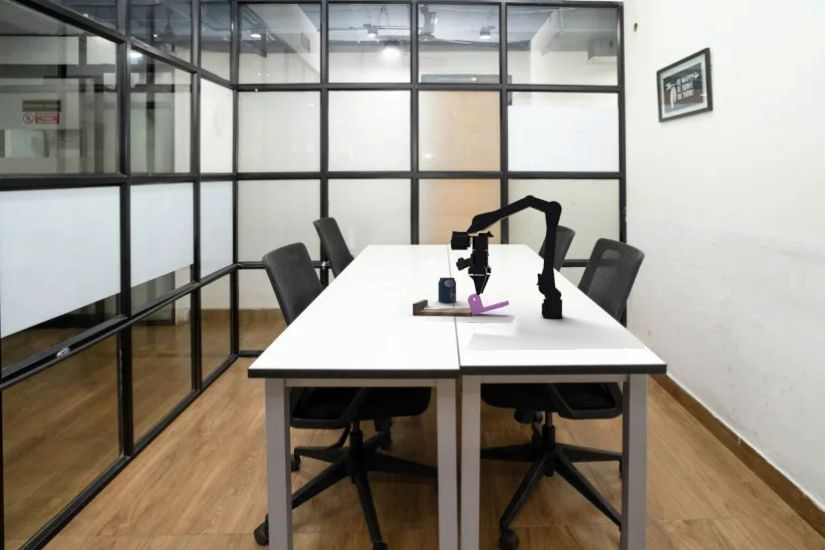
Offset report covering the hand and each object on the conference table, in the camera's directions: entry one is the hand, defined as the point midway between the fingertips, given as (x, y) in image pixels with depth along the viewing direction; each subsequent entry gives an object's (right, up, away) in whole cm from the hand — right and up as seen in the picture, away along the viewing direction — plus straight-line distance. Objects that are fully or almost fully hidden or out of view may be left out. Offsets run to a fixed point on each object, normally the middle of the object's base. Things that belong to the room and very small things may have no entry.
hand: (479, 294), depth 205 cm
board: (-12, -7, +3) cm, 14 cm away
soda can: (-10, -6, +20) cm, 24 cm away
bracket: (+4, -5, -3) cm, 7 cm away
